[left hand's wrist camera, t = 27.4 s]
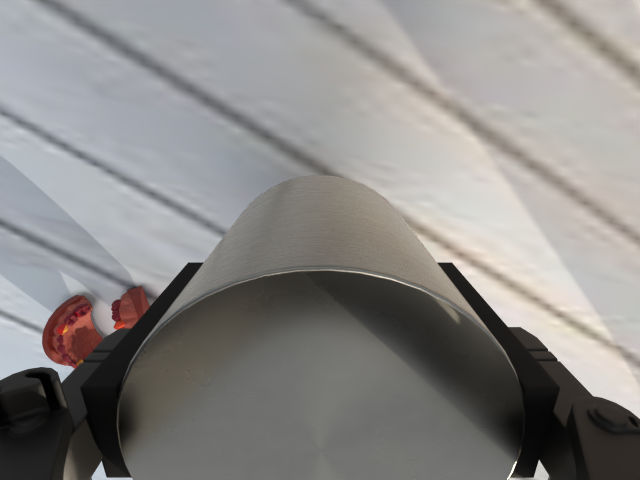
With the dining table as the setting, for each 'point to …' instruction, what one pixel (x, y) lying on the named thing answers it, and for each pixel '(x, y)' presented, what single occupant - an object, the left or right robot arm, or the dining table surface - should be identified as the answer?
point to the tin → (320, 356)
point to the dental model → (86, 326)
